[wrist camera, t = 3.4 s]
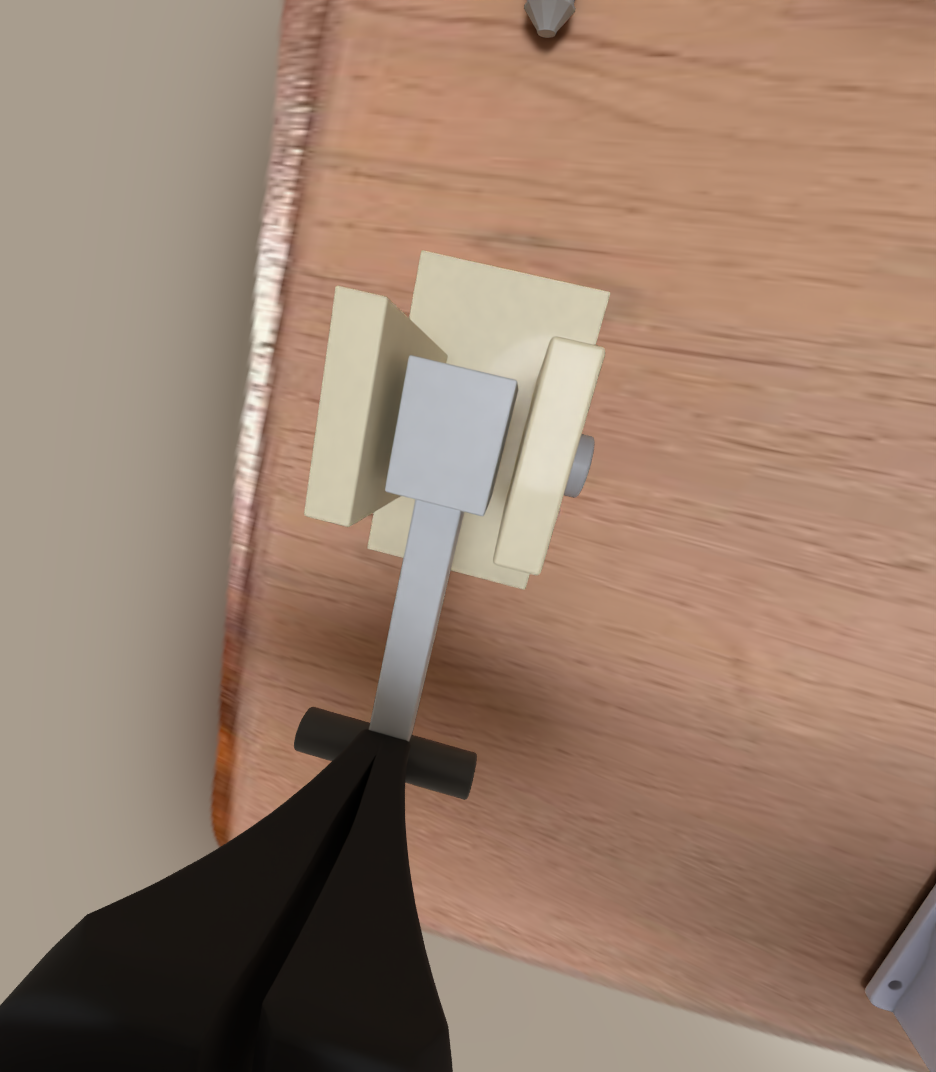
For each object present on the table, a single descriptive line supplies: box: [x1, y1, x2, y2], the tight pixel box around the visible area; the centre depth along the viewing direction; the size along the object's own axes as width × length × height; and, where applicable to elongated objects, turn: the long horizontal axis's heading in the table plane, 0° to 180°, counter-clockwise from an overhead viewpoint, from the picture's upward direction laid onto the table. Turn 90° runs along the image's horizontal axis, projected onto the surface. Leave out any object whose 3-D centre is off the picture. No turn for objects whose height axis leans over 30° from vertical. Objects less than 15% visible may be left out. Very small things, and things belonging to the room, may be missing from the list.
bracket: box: [304, 250, 610, 590], centre depth 12 cm, size 10×6×8 cm, turn 167°
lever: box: [294, 355, 519, 800], centre depth 11 cm, size 11×5×2 cm, turn 167°
